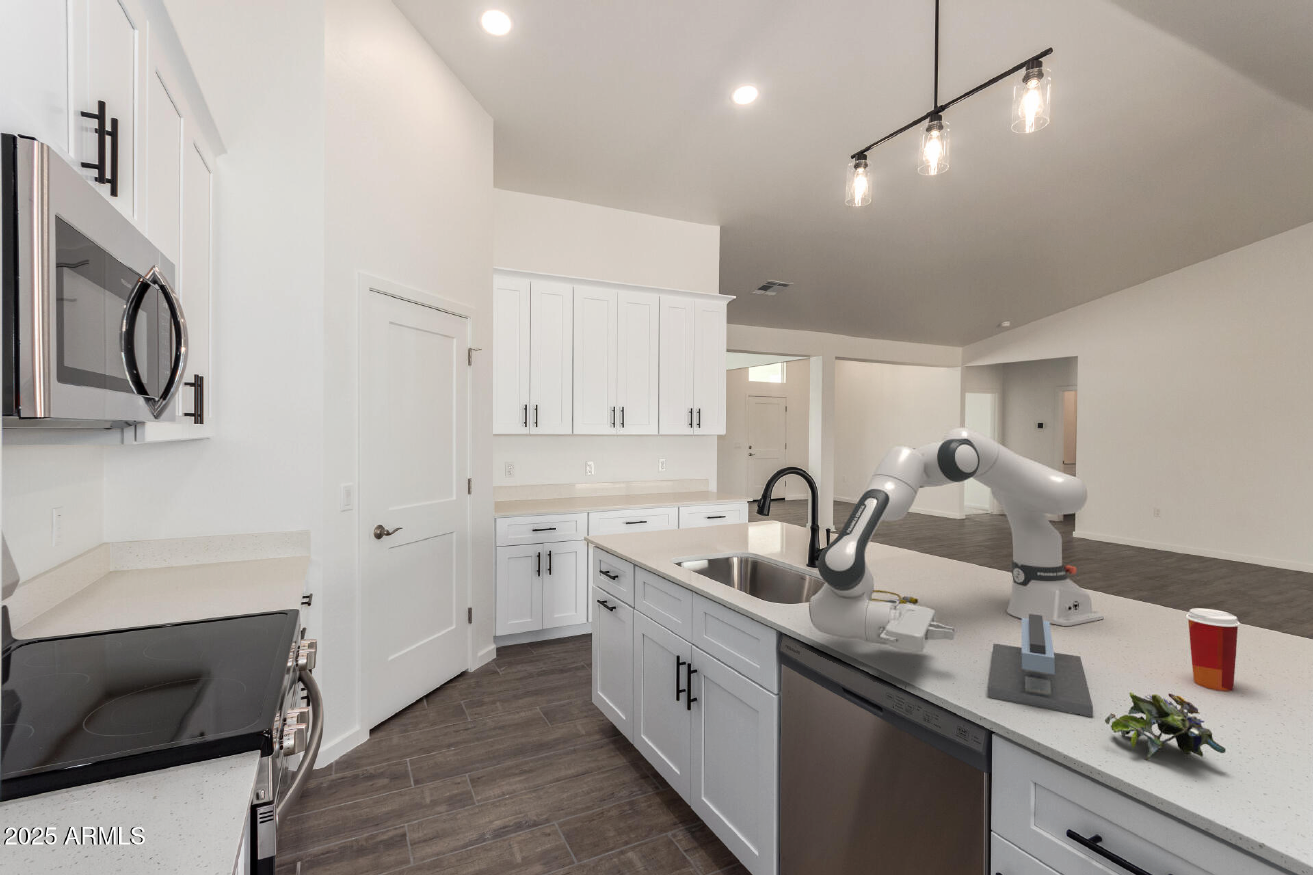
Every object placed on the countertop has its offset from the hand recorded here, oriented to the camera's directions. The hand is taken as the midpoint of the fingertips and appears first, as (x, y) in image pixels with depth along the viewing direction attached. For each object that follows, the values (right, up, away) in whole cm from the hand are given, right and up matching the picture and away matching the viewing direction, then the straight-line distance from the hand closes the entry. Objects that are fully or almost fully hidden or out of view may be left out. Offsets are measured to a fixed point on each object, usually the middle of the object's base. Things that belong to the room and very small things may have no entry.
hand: (954, 633), depth 121 cm
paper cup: (+47, -8, -7) cm, 48 cm away
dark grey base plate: (+15, -8, -3) cm, 17 cm away
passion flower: (+17, -9, -30) cm, 36 cm away
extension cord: (+8, -9, +55) cm, 57 cm away
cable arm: (+15, -5, -4) cm, 16 cm away
